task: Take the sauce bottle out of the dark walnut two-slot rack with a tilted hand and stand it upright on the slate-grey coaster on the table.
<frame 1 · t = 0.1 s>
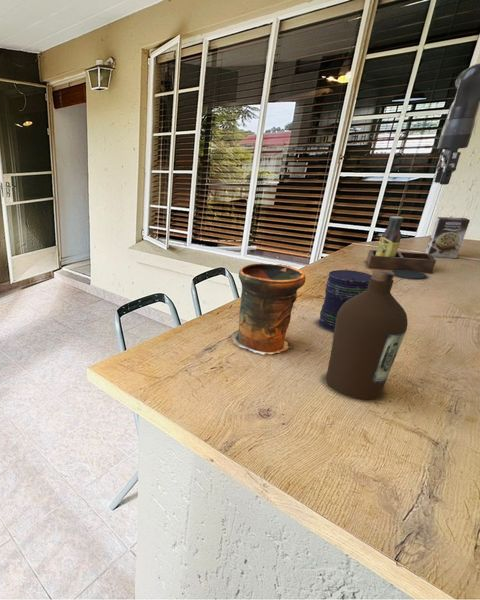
hand: (440, 183, 124), 32 cm above the counter, tool pointing down, fingers open, 8 cm apart
storage jar: (338, 326, 98), on the counter
olive oil: (352, 386, 73), on the counter
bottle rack: (397, 266, 141), on the counter
vessel: (260, 343, 92), on the counter
cookie box: (440, 256, 151), on the counter
coaster: (408, 275, 132), on the counter
sauce bottle: (382, 266, 143), resting in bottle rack
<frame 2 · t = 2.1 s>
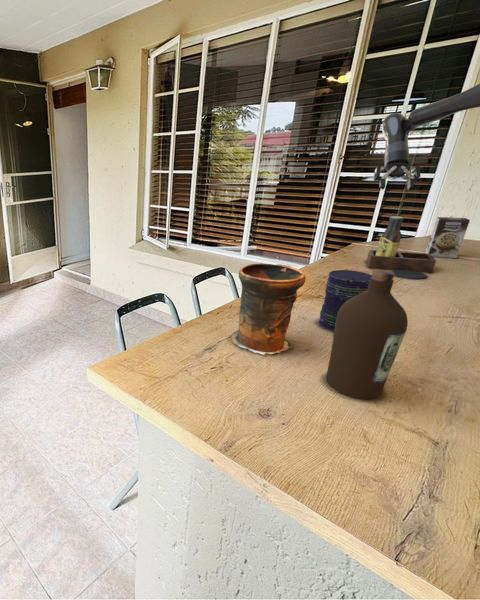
hand: (396, 188, 140), 30 cm above the counter, tool tilted 40°, fingers open, 8 cm apart
nothing on the counter moved.
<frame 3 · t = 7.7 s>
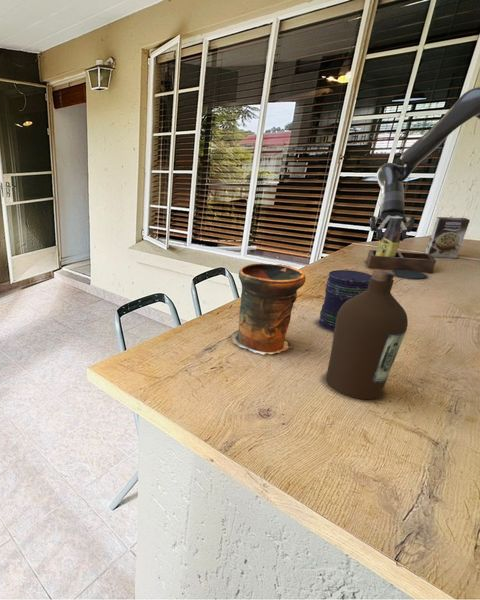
hand: (391, 239, 138), 11 cm above the counter, tool tilted 45°, fingers closed on sauce bottle, 6 cm apart
sauce bottle: (382, 266, 143), resting in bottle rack, touching gripper
everything else where it was.
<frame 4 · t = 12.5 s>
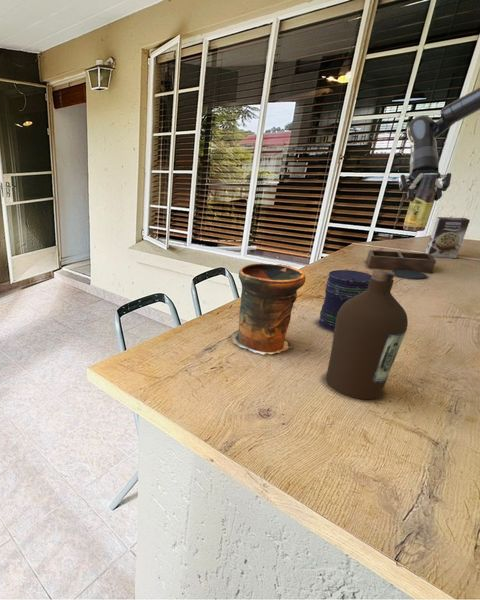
hand: (424, 199, 123), 28 cm above the counter, tool tilted 45°, fingers closed on sauce bottle, 6 cm apart
sauce bottle: (413, 230, 129), point 16 cm above the counter, touching gripper
everything else where it was.
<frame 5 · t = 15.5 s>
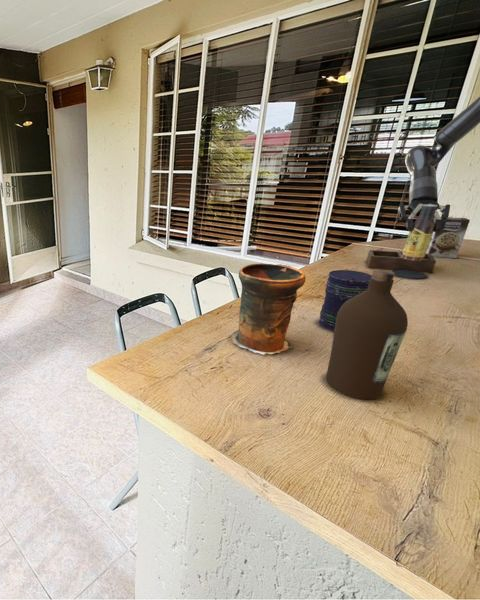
hand: (423, 230, 124), 17 cm above the counter, tool tilted 45°, fingers closed on sauce bottle, 6 cm apart
sauce bottle: (412, 260, 130), point 6 cm above the counter, touching gripper
everything else where it was.
when the fingers open (12 cm above the counter, at t = 17.6 s): sauce bottle stays where it is, resting on coaster.
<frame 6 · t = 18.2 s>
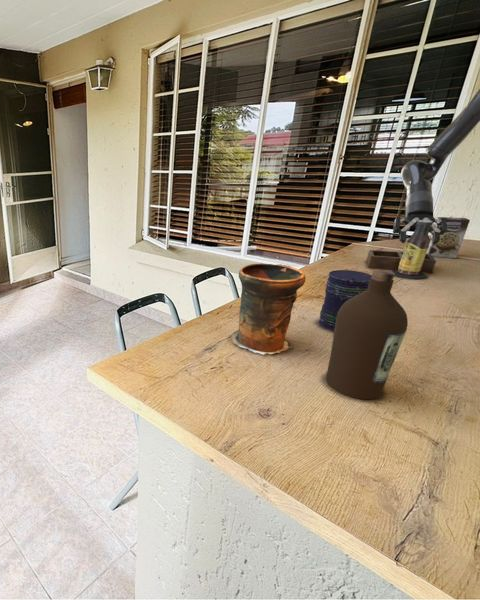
hand: (419, 242, 126), 13 cm above the counter, tool tilted 45°, fingers open, 8 cm apart
sauce bottle: (408, 274, 132), resting on coaster
everything else where it was.
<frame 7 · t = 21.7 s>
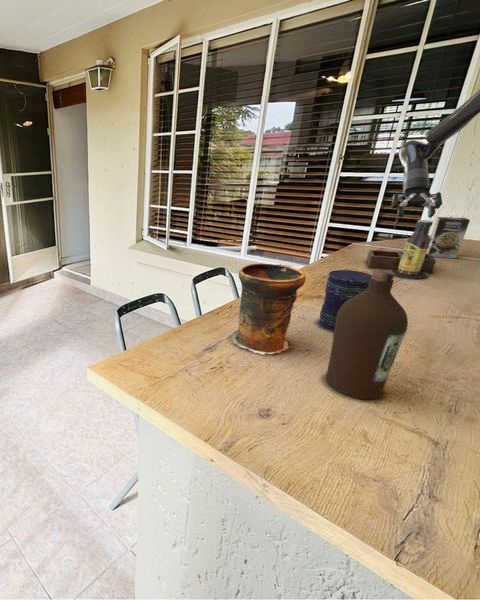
hand: (416, 216, 134), 20 cm above the counter, tool tilted 45°, fingers open, 8 cm apart
nothing on the counter moved.
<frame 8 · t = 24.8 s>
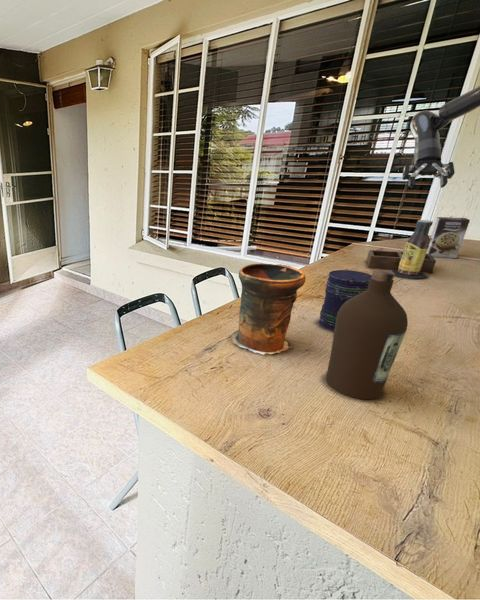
hand: (427, 186, 132), 31 cm above the counter, tool tilted 45°, fingers open, 8 cm apart
nothing on the counter moved.
at the end: sauce bottle inside the target area on the coaster (0.2 cm from its centre), point 0.3 cm above the coaster's base; sauce bottle tilted 0°; the gripper is holding nothing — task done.
